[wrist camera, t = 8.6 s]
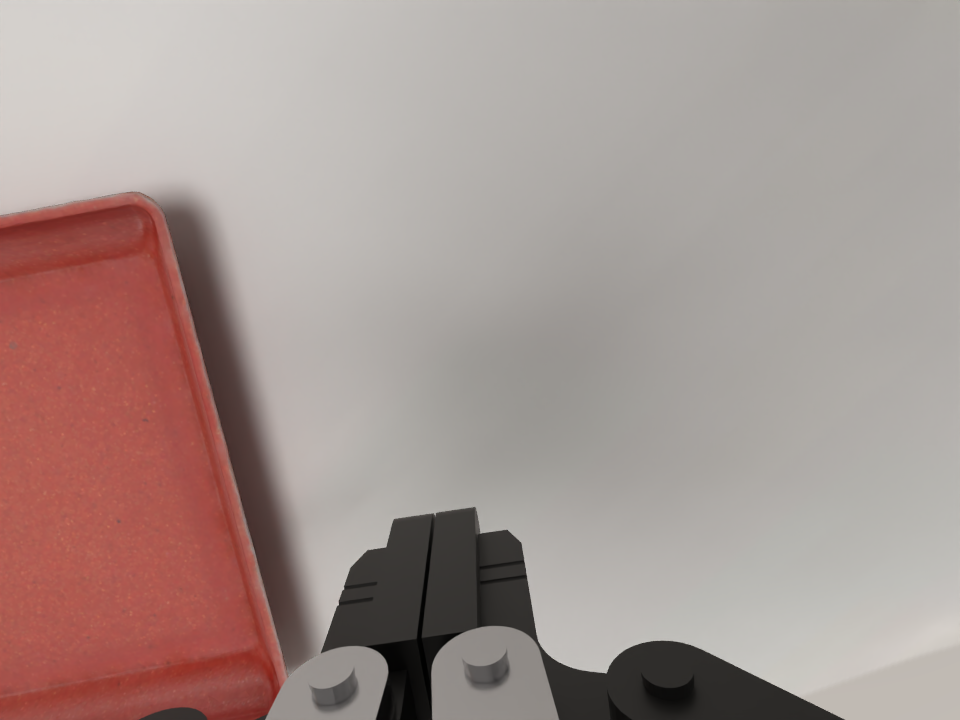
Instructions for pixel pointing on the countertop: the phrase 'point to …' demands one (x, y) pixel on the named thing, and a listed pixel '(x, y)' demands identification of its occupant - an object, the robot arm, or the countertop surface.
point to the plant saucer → (117, 484)
